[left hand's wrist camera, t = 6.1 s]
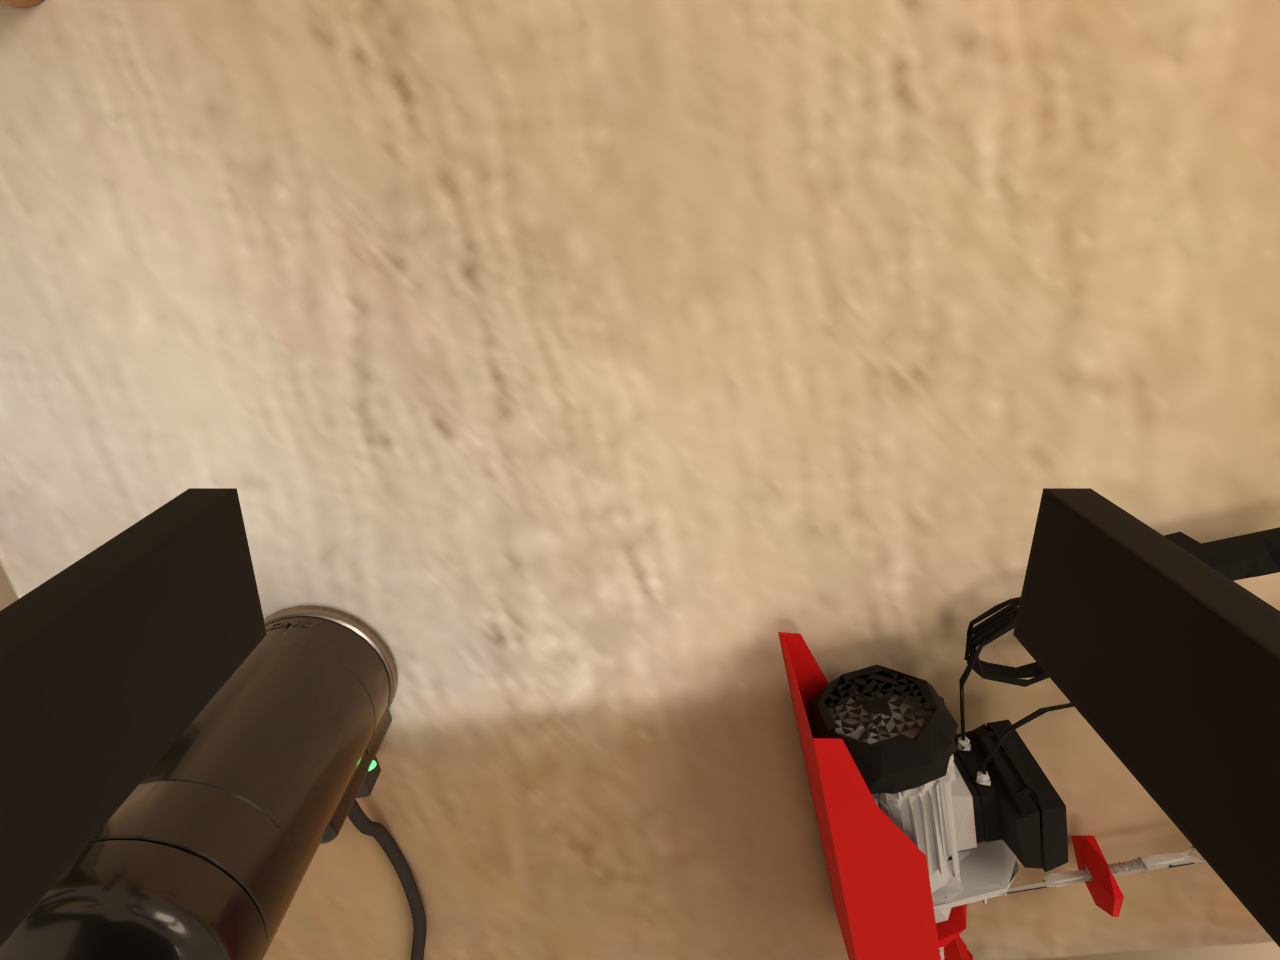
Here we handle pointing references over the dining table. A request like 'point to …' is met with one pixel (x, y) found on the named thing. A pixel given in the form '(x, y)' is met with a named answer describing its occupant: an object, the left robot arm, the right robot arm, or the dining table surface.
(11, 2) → the brown capped cylinder
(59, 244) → the dining table surface
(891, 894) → the electric hoist
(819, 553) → the dining table surface
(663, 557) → the dining table surface
